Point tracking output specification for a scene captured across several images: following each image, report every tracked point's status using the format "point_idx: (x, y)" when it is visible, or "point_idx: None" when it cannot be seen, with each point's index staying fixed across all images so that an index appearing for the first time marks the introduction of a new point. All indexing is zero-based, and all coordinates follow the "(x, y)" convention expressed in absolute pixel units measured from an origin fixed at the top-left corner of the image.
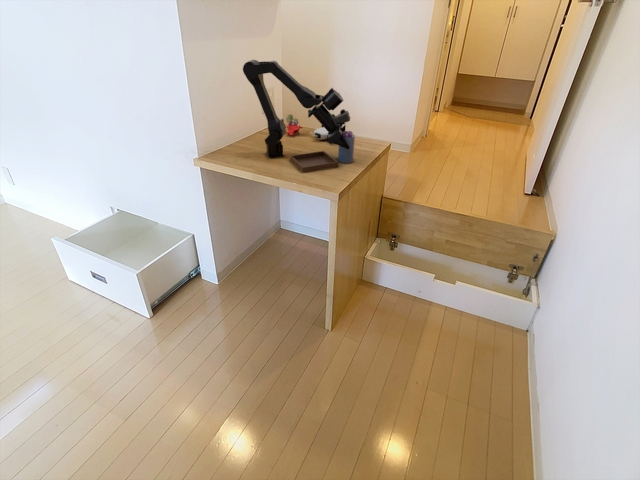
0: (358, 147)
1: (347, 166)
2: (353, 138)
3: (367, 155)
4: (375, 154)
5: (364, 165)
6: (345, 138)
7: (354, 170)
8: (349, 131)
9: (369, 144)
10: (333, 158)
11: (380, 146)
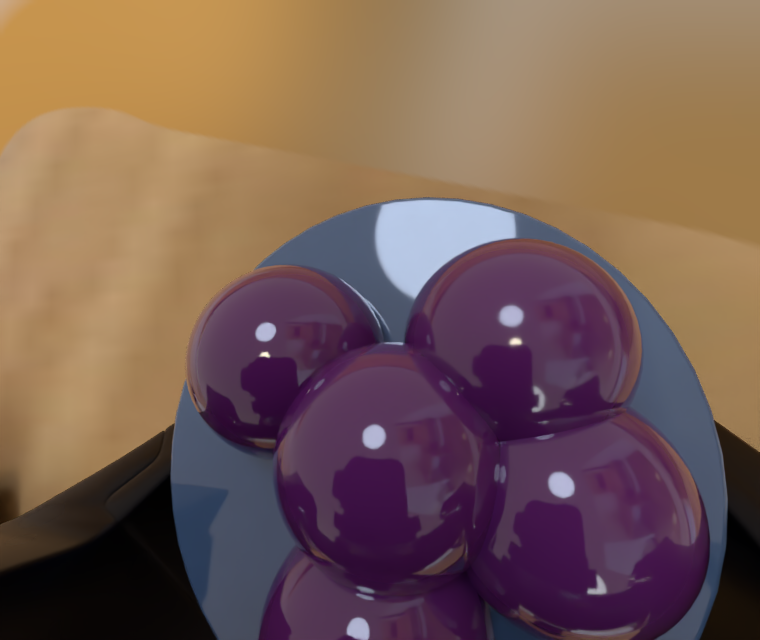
0: (109, 305)
1: None
2: (533, 237)
3: (283, 210)
4: (254, 149)
5: (549, 206)
6: (709, 509)
7: (743, 293)
8: (269, 372)
9: (50, 223)
10: None
11: (90, 138)
